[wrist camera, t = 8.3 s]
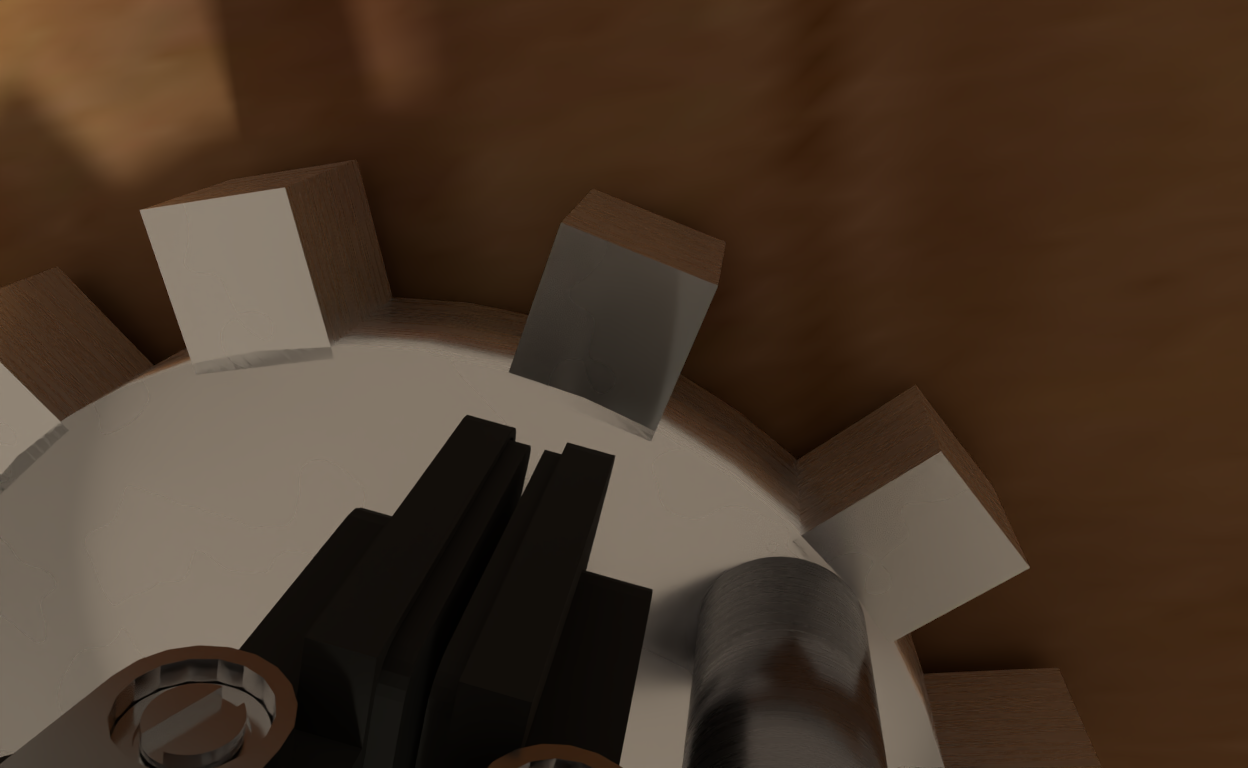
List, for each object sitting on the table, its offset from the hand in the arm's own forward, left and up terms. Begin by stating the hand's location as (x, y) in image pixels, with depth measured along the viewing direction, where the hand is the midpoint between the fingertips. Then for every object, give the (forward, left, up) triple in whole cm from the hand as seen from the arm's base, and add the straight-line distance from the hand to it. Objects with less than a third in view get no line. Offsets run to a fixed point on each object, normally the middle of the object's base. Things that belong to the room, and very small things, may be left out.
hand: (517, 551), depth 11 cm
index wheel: (-6, +1, -4) cm, 7 cm away
